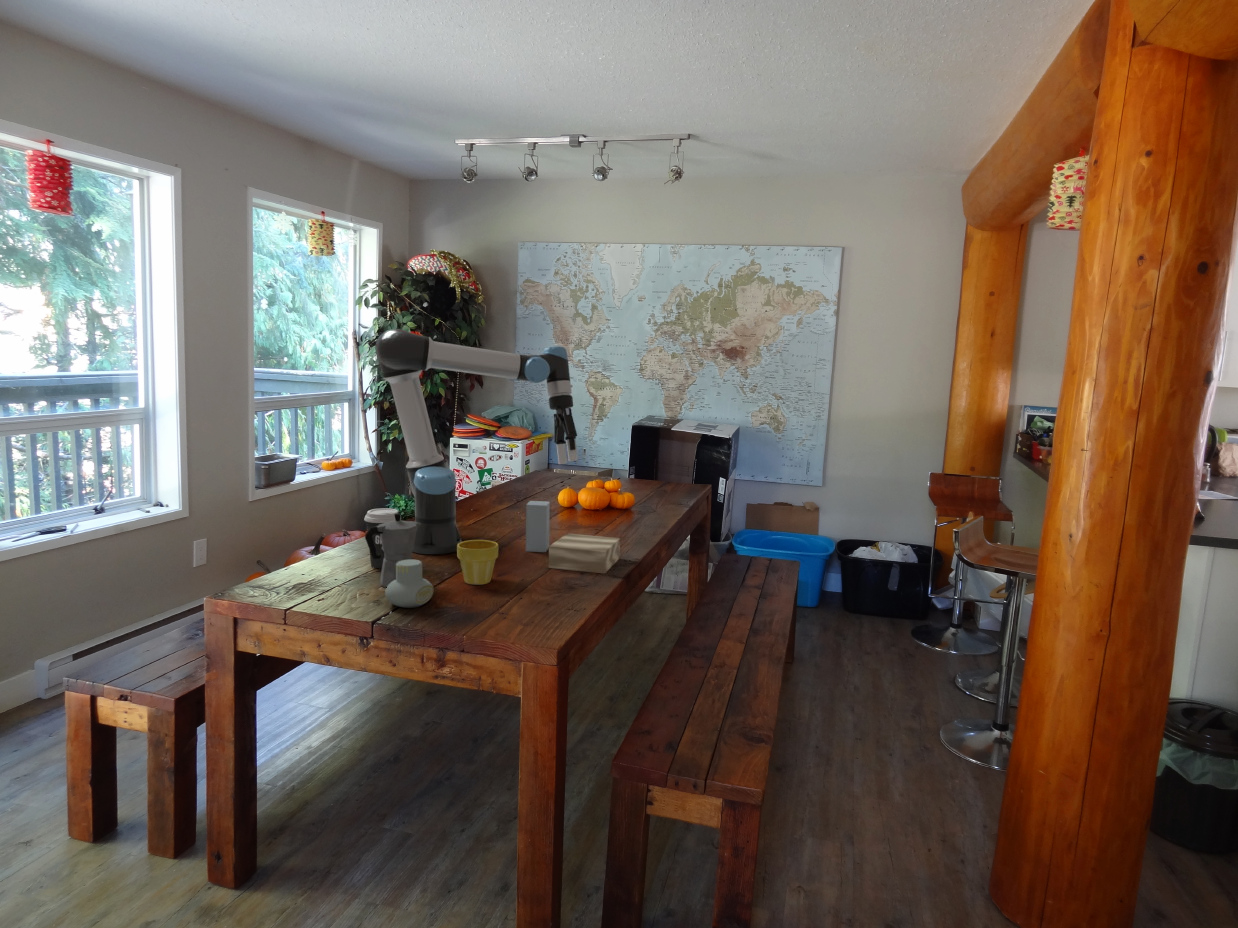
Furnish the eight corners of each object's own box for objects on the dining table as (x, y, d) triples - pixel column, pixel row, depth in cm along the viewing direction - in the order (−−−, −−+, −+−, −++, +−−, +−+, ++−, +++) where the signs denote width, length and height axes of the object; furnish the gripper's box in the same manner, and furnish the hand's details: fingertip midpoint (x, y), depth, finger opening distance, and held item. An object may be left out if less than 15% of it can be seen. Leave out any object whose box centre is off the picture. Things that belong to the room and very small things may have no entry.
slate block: (545, 552, 232) (546, 505, 230) (525, 551, 233) (526, 504, 230) (548, 546, 238) (549, 501, 236) (529, 546, 238) (529, 500, 236)
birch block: (604, 573, 212) (605, 551, 211) (548, 567, 216) (548, 546, 215) (619, 558, 228) (620, 538, 227) (566, 553, 232) (567, 533, 231)
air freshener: (410, 613, 177) (409, 570, 175) (379, 608, 180) (379, 566, 178) (438, 599, 187) (437, 559, 185) (409, 594, 190) (408, 554, 188)
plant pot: (480, 572, 210) (480, 537, 208) (506, 580, 203) (506, 544, 202) (448, 581, 202) (448, 543, 200) (475, 589, 195) (475, 551, 194)
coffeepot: (411, 574, 207) (410, 506, 204) (431, 582, 200) (431, 513, 198) (356, 585, 195) (355, 515, 193) (376, 594, 189) (375, 521, 186)
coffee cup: (364, 571, 208) (363, 515, 206) (365, 561, 217) (364, 508, 215) (401, 569, 210) (401, 514, 208) (401, 559, 220) (401, 507, 217)
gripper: (581, 388, 239) (589, 458, 238) (562, 400, 262) (570, 463, 262) (557, 390, 236) (565, 460, 236) (540, 402, 260) (548, 466, 259)
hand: (568, 462), depth 249 cm, fingers open, 13 cm apart
